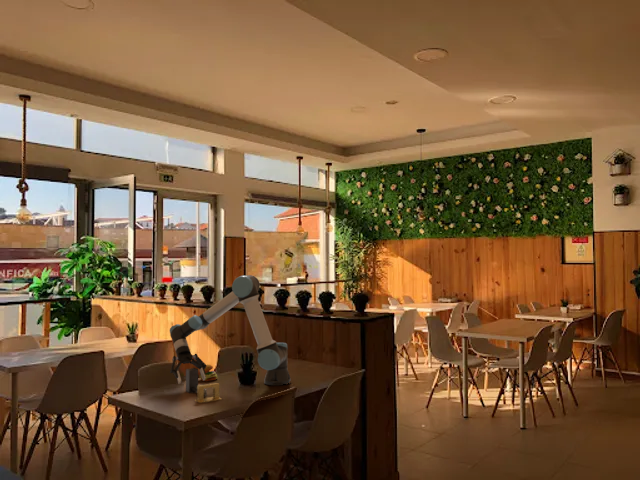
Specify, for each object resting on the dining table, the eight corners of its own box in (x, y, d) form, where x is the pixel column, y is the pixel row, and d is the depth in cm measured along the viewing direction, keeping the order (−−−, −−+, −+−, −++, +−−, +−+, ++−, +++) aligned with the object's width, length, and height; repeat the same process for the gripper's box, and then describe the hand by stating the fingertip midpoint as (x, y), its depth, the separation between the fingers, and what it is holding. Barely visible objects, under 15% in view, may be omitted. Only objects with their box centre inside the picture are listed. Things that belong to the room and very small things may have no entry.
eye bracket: (216, 397, 279) (216, 382, 279) (221, 399, 274) (221, 384, 274) (194, 400, 272) (194, 385, 272) (199, 403, 267) (199, 387, 267)
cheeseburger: (218, 381, 316) (214, 364, 316) (200, 386, 314) (196, 369, 314) (218, 377, 326) (213, 361, 326) (200, 382, 324) (196, 366, 324)
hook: (194, 390, 294) (194, 368, 295) (209, 397, 277) (210, 374, 278) (185, 391, 291) (185, 369, 292) (200, 399, 274) (200, 375, 275)
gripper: (201, 351, 312) (212, 381, 299) (158, 355, 298) (167, 388, 285) (205, 342, 308) (216, 373, 295) (161, 347, 294) (171, 379, 281)
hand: (192, 380), depth 290 cm, fingers open, 13 cm apart
